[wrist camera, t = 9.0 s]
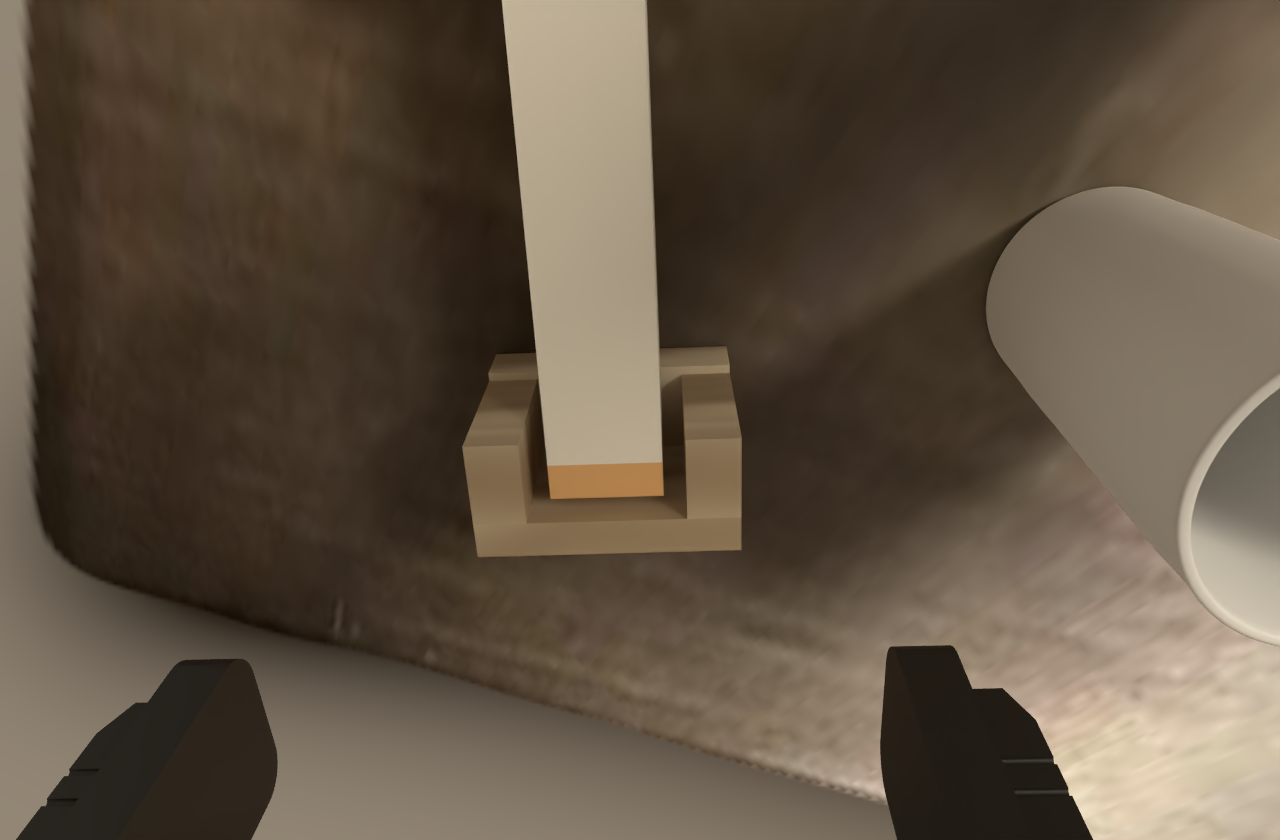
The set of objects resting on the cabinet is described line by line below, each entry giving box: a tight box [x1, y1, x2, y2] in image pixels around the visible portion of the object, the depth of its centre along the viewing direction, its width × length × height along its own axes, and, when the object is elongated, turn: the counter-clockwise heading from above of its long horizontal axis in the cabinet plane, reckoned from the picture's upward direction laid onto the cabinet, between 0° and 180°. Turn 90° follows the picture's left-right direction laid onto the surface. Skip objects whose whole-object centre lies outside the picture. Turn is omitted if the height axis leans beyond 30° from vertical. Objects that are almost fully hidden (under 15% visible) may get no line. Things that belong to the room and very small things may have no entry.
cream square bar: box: [502, 0, 664, 499], centre depth 22 cm, size 18×3×3 cm, turn 2°
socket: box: [462, 346, 742, 557], centre depth 27 cm, size 4×7×6 cm, turn 92°
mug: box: [986, 187, 1280, 646], centre depth 22 cm, size 10×7×12 cm, turn 86°
